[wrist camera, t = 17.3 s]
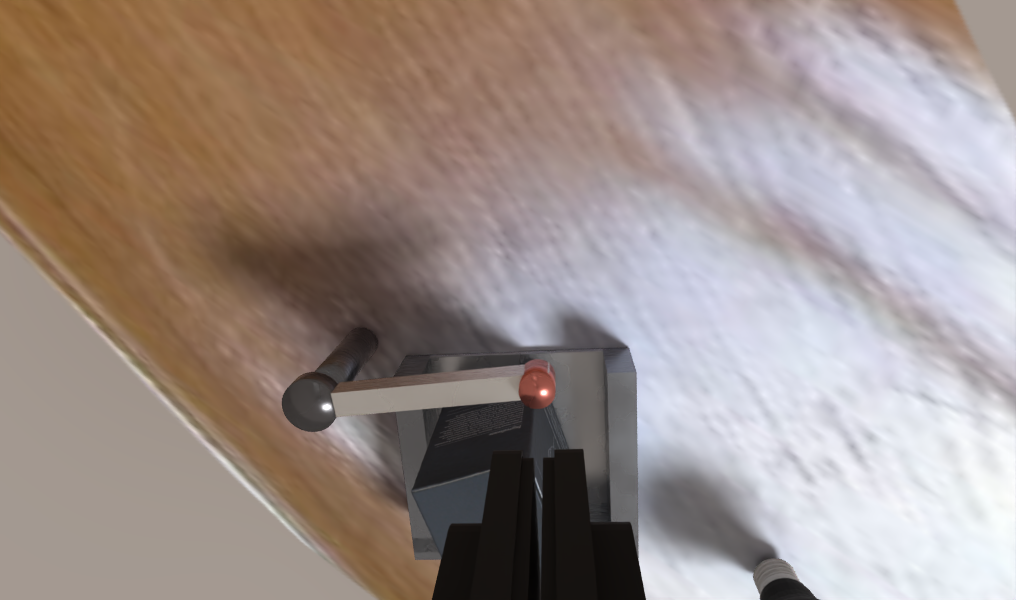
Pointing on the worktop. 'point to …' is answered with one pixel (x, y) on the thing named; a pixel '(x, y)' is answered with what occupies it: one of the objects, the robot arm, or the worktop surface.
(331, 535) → the worktop surface
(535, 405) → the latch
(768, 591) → the light bulb
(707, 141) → the worktop surface
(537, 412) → the box
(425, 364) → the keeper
